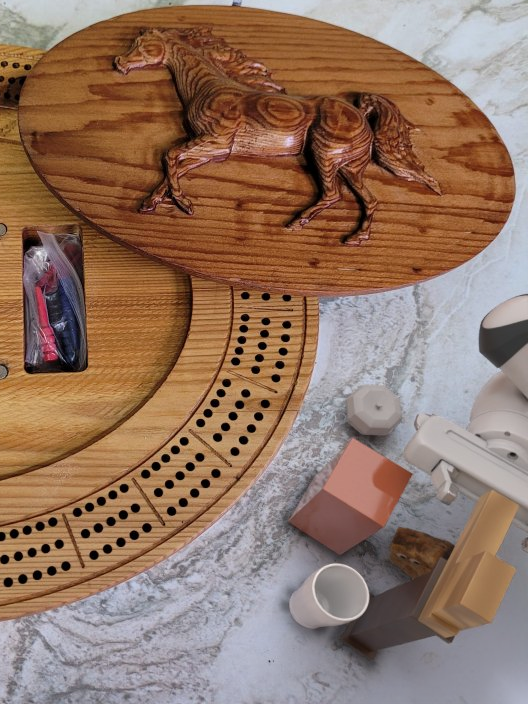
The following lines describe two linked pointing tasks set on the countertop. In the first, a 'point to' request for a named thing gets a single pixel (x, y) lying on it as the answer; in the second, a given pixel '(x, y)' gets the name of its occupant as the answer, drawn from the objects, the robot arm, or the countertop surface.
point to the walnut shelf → (394, 616)
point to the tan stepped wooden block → (473, 571)
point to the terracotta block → (350, 497)
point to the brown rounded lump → (417, 551)
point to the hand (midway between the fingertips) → (488, 523)
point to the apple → (373, 410)
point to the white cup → (330, 597)
